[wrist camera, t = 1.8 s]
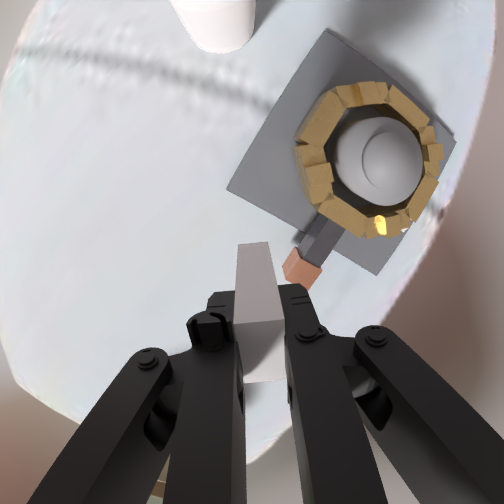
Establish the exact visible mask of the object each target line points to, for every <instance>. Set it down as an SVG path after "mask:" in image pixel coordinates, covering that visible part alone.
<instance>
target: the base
mask: <svg viewBox="0 0 504 504" xmlns="http://www.w3.org/2000/svg"><path fill="white" fill-rule="evenodd" d="M368 81H375V83H376V82H386V85H387V86H390V85H394V86H395V87H396V88H397V89H398V90H400V91H401V92H402V93H403V94H404V95H405V96H406V97H407V98H409V99H410V100H411V101H412V102H413V103H414V104H415V105H416V106H417V107H418V108H419V109H420V110H421V111H422V112H423V113H424V114H425V115H426V116H427V117H428V118H429V119H430V120H429V122H428V124H427V126H433V127H434V133H435V138H436V143H442V145H443V153H444V160H439V168H440V174H441V173H442V171H443V169H444V167H445V165H446V163H447V161H448V159H449V157H450V155H451V153H452V151H453V149H454V147H455V144H456V141H455V140H454V138H453V137H452V136H451V135H450V134H449V133H448V132H447V130H446V129H445V128H444V127H443V126H442V125H441V124H440V123H439V122H438V121H437V120H436V119H435V118H434V116H433V115H432V114H431V113H430V112H429V111H428V110H427V109H426V108H425V107H424V106H423V105H422V104H421V103H419V102H418V101H417V100H416V99H415V98H414V97H413V96H412V95H411V94H410V93H409V92H408V91H407V90H405V89H404V88H403V87H402V86H401V85H400V84H399V83H397V82H396V81H395V80H394V79H393V78H391V77H390V76H389V75H388V74H387V73H385V72H384V71H383V70H382V69H380V68H379V67H378V66H376V65H375V64H374V63H372V62H371V61H370V60H368V59H367V58H366V57H364V56H363V55H361V54H360V53H359V52H357V51H356V50H354V49H353V48H351V47H350V46H348V45H347V44H345V43H344V42H342V41H341V40H339V39H337V38H336V37H334V36H333V35H331V34H329V33H328V32H326V31H324V32H323V33H322V35H321V36H320V38H319V39H318V40H317V42H316V43H315V45H314V46H313V48H312V49H311V51H310V52H309V53H308V55H307V56H306V58H305V59H304V61H303V62H302V64H301V65H300V67H299V68H298V70H297V71H296V73H295V74H294V76H293V78H292V79H291V81H290V82H289V84H288V85H287V87H286V88H285V90H284V92H283V93H282V95H281V96H280V98H279V100H278V101H277V103H276V104H275V106H274V108H273V109H272V111H271V112H270V114H269V116H268V117H267V119H266V121H265V122H264V124H263V126H262V127H261V129H260V131H259V132H258V134H257V136H256V137H255V139H254V141H253V142H252V144H251V146H250V148H249V149H248V151H247V153H246V154H245V156H244V158H243V160H242V161H241V163H240V165H239V167H238V168H237V170H236V172H235V174H234V176H233V177H232V179H231V181H230V183H229V185H228V186H227V188H226V190H228V191H229V192H231V193H233V194H235V195H237V196H239V197H241V198H243V199H244V200H246V201H248V202H250V203H252V204H254V205H256V206H257V207H259V208H261V209H263V210H265V211H266V212H268V213H270V214H272V215H274V216H276V217H277V218H279V219H281V220H283V221H284V222H286V223H288V224H290V225H292V226H293V227H295V228H297V229H299V230H300V231H302V232H304V233H306V234H307V232H308V231H309V229H310V227H311V226H312V224H313V223H314V221H315V220H316V218H317V216H318V215H319V212H318V211H317V210H316V209H315V208H314V207H313V206H312V205H311V204H310V203H309V201H308V200H307V199H306V198H305V197H304V193H303V189H302V185H301V181H300V176H299V172H298V168H297V164H296V161H295V157H294V153H293V149H292V146H295V145H299V144H301V143H299V142H297V141H296V140H294V139H293V138H294V136H295V134H296V133H297V131H298V129H299V128H300V126H301V124H302V123H303V121H304V120H305V118H306V116H307V115H308V113H309V111H310V110H311V108H312V107H313V105H314V103H315V102H316V100H317V99H318V97H319V96H321V95H322V94H324V93H325V92H327V91H329V90H330V89H332V88H334V87H336V86H343V85H352V84H356V83H358V82H368ZM323 149H324V153H325V157H326V162H330V165H331V170H332V174H333V179H334V182H331V185H332V190H333V194H334V195H335V196H337V197H338V198H340V199H341V200H343V201H344V202H346V203H347V204H349V205H350V206H352V207H353V208H355V209H356V208H360V207H364V206H368V205H372V204H377V205H383V206H390V205H395V204H398V203H400V202H402V201H404V200H405V199H407V198H408V197H409V196H410V195H411V194H412V193H413V191H414V190H415V188H416V187H417V185H418V183H419V180H420V178H421V174H422V167H423V160H422V153H421V149H420V146H419V143H418V141H417V139H416V137H415V136H414V134H413V133H412V132H411V130H410V129H409V128H408V127H407V126H405V125H404V124H403V123H401V122H400V121H398V120H395V119H392V118H388V117H384V116H383V115H381V114H380V113H379V112H378V111H376V110H375V109H374V108H373V107H363V108H355V109H348V110H345V111H344V113H343V115H342V116H341V118H340V120H339V121H338V123H337V125H336V126H335V128H334V129H333V131H332V133H331V134H330V136H329V138H328V139H327V141H326V143H325V144H324V146H323ZM439 176H440V175H439ZM439 176H434V178H435V179H436V180H438V178H439ZM412 223H413V221H411V220H410V226H411V225H412ZM409 228H410V227H409ZM409 228H405V229H402V230H401V235H398V236H394V237H391V238H388V239H387V238H386V237H384V236H383V235H381V236H377V237H374V238H370V239H366V238H365V237H364V236H361V238H359V237H357V236H355V235H354V234H352V233H351V232H349V231H348V230H345V232H344V233H343V235H342V236H341V238H340V239H339V241H338V242H337V244H336V245H335V246H334V248H333V250H335V251H336V252H338V253H340V254H341V255H343V256H345V257H346V258H348V259H350V260H351V261H353V262H355V263H356V264H358V265H359V266H361V267H363V268H364V269H366V270H368V271H369V272H371V273H372V274H374V275H376V276H377V275H378V274H379V272H380V271H381V269H382V268H383V267H384V265H385V264H386V262H387V261H388V260H389V258H390V257H391V255H392V254H393V252H394V251H395V249H396V248H397V246H398V245H399V243H400V242H401V240H402V239H403V237H404V236H405V234H406V233H407V231H408V229H409Z"/></svg>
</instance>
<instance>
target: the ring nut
mask: <svg viewBox="0 0 504 504" xmlns="http://www.w3.org/2000/svg"><path fill="white" fill-rule="evenodd" d="M363 107H373V108H374V109H375V110H376V111H378V112H379V113H380V114H381V115H383V116H384V117H388V118H392V119H395V120H398V121H400V122H401V123H403V124H404V125H405V126H407V127H408V128H409V129H410V130H411V132H412V133H413V134H414V136H415V137H416V139H417V141H418V143H419V146H420V149H421V153H422V160H423V167H422V174H421V178H420V180H419V183H418V185H417V187H416V188H415V190H414V191H413V193H412V194H411V195H410V196H409V197H408V198H407V199H405V200H404V201H402V202H400V203H398V204H395V205H390V206H383V205H377V204H372V205H368V206H364V207H360V208H356V209H355V208H353V207H352V206H350V205H349V204H347V203H346V202H344V201H343V200H341V199H340V198H338V197H337V196H335V195H334V194H333V190H332V185H331V182H334V179H333V174H332V170H331V165H330V162H326V157H325V153H324V149H323V146H324V144H325V143H326V141H327V139H328V138H329V136H330V134H331V133H332V131H333V129H334V128H335V126H336V125H337V123H338V121H339V120H340V118H341V116H342V115H343V113H344V111H345V110H348V109H355V108H363ZM429 120H430V119H429V118H428V117H427V116H426V115H425V114H424V113H423V112H422V111H421V110H420V109H419V108H418V107H417V106H416V105H415V104H414V103H413V102H412V101H411V100H410V99H409V98H407V97H406V96H405V95H404V94H403V93H402V92H401V91H400V90H398V89H397V88H396V87H395V86H394V85H390V86H387V85H386V82H376V83H375V81H368V82H358V83H356V84H352V85H343V86H336V87H334V88H332V89H330V90H329V91H327V92H325V93H324V94H322V95H321V96H319V97H318V99H317V100H316V102H315V103H314V105H313V107H312V108H311V110H310V111H309V113H308V115H307V116H306V118H305V120H304V121H303V123H302V124H301V126H300V128H299V129H298V131H297V133H296V134H295V136H294V138H293V139H294V140H296V141H297V142H299V143H301V144H299V145H295V146H292V149H293V153H294V157H295V161H296V164H297V168H298V172H299V176H300V181H301V185H302V189H303V193H304V197H305V198H306V199H307V200H308V201H309V203H310V204H311V205H312V206H313V207H314V208H315V209H316V210H317V211H318V212H319V215H318V216H317V218H316V220H315V221H314V223H313V224H312V226H311V227H310V229H309V231H308V232H307V234H306V235H305V237H304V238H303V240H302V241H301V243H300V244H299V246H298V247H294V248H293V250H292V251H291V253H290V255H289V256H288V258H287V259H286V261H285V262H284V264H283V265H282V268H283V272H284V275H285V279H286V280H287V281H289V282H291V283H293V284H295V283H300V284H301V285H302V286H304V287H305V288H306V289H307V291H308V290H309V289H310V287H311V286H312V284H313V283H314V282H315V280H316V279H317V278H318V276H319V275H320V273H321V272H322V269H321V265H322V264H323V263H324V261H325V260H326V258H327V257H328V255H329V254H330V252H331V251H332V249H333V248H334V246H335V245H336V244H337V242H338V241H339V239H340V238H341V236H342V235H343V233H344V232H345V230H348V231H349V232H351V233H352V234H354V235H355V236H357V237H359V238H361V236H364V237H365V238H366V239H370V238H374V237H377V236H381V235H383V236H384V237H386V238H387V239H388V238H391V237H394V236H398V235H401V230H402V229H405V228H409V227H410V220H411V221H413V222H415V223H416V221H417V219H418V218H419V216H420V215H421V213H422V211H423V209H424V208H425V206H426V204H427V203H428V201H429V199H430V197H431V196H432V194H433V192H434V190H435V189H436V187H437V185H438V183H439V182H438V181H437V180H436V179H435V178H434V176H439V175H440V168H439V160H444V153H443V145H442V143H436V138H435V133H434V127H433V126H427V124H428V122H429Z"/></svg>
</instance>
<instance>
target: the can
mask: <svg viewBox="0 0 504 504" xmlns="http://www.w3.org/2000/svg"><path fill="white" fill-rule="evenodd" d="M169 1H170V3H171V4H172V6H173V8H174V10H175V11H176V13H177V15H178V16H179V18H180V20H181V21H182V23H183V25H184V27H185V28H186V30H187V32H188V33H189V35H190V37H191V38H192V40H193V42H194V43H195V44H196V45H197V46H198V47H199V48H201V49H202V50H204V51H207V52H210V53H228V52H232V51H235V50H237V49H239V48H241V47H242V46H244V45H245V44H246V43H247V42H248V41H249V40H250V38H251V36H252V34H253V30H254V21H255V8H256V0H169Z"/></svg>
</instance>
